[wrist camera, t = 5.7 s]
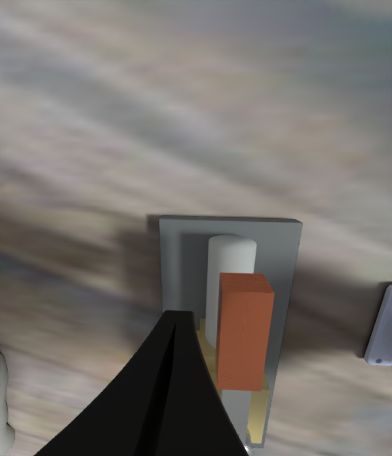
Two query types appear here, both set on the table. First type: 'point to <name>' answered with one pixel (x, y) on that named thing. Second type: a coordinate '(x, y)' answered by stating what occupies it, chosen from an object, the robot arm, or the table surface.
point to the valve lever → (242, 344)
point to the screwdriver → (4, 412)
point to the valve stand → (229, 263)
